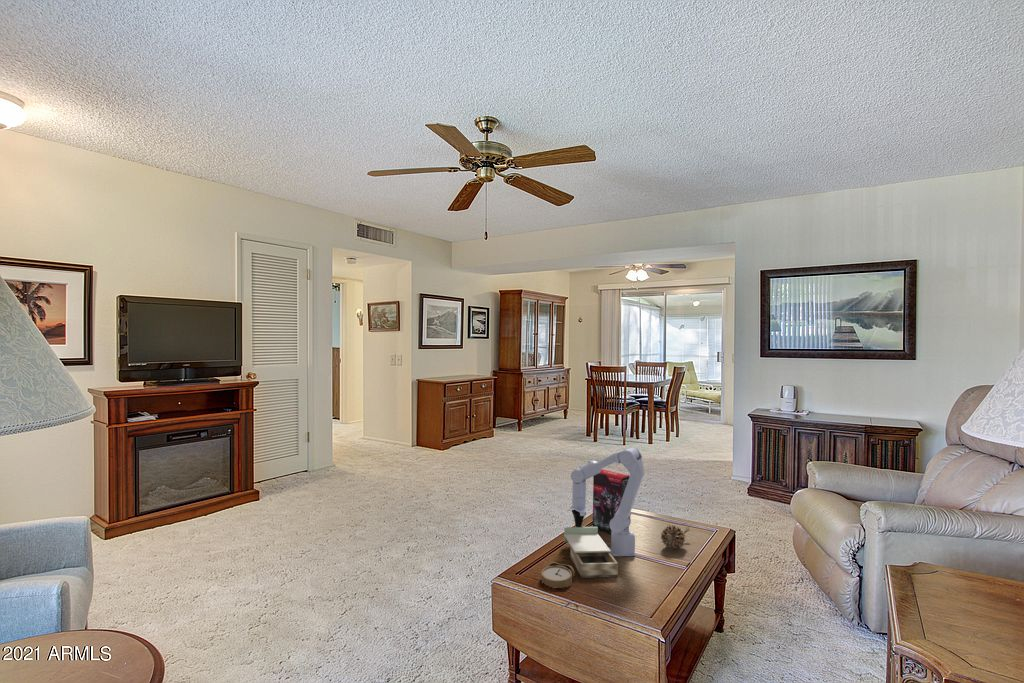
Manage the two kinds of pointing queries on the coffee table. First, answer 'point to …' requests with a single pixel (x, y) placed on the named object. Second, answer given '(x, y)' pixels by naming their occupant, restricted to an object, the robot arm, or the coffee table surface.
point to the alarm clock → (557, 575)
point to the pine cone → (673, 536)
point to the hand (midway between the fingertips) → (578, 527)
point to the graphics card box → (607, 497)
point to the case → (594, 564)
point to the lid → (585, 540)
